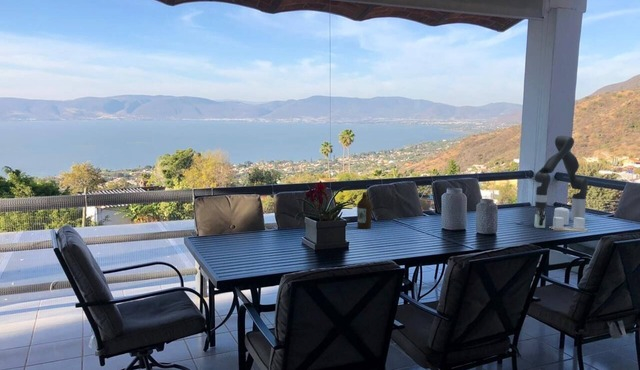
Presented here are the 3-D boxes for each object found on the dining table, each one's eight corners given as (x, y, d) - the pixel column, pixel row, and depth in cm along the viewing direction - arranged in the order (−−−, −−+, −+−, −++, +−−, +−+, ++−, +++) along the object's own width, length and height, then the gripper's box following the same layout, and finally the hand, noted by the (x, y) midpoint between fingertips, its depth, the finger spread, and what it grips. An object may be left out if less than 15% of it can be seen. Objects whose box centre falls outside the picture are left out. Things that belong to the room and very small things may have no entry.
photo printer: (552, 223, 367) (553, 207, 365) (555, 222, 370) (556, 206, 368) (566, 225, 359) (567, 208, 357) (569, 224, 362) (570, 208, 360)
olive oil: (361, 225, 354) (362, 191, 351) (374, 227, 348) (375, 192, 345) (353, 228, 345) (354, 192, 342) (366, 230, 339) (367, 194, 336)
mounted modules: (552, 226, 348) (553, 216, 347) (580, 227, 347) (581, 217, 346) (556, 228, 342) (556, 218, 341) (584, 228, 341) (585, 218, 340)
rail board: (549, 227, 350) (549, 226, 350) (581, 228, 349) (581, 227, 349) (554, 230, 341) (554, 229, 340) (587, 231, 339) (588, 230, 339)
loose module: (534, 226, 355) (535, 214, 354) (542, 226, 355) (543, 214, 354) (536, 227, 351) (537, 215, 350) (544, 227, 351) (545, 215, 350)
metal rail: (551, 227, 347) (551, 226, 347) (583, 228, 346) (583, 227, 346) (553, 228, 343) (553, 227, 343) (586, 229, 342) (586, 228, 342)
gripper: (550, 202, 343) (548, 227, 345) (542, 199, 357) (541, 223, 359) (539, 202, 344) (537, 226, 346) (532, 199, 358) (530, 222, 360)
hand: (539, 224), depth 353 cm, fingers closed on loose module, 4 cm apart
